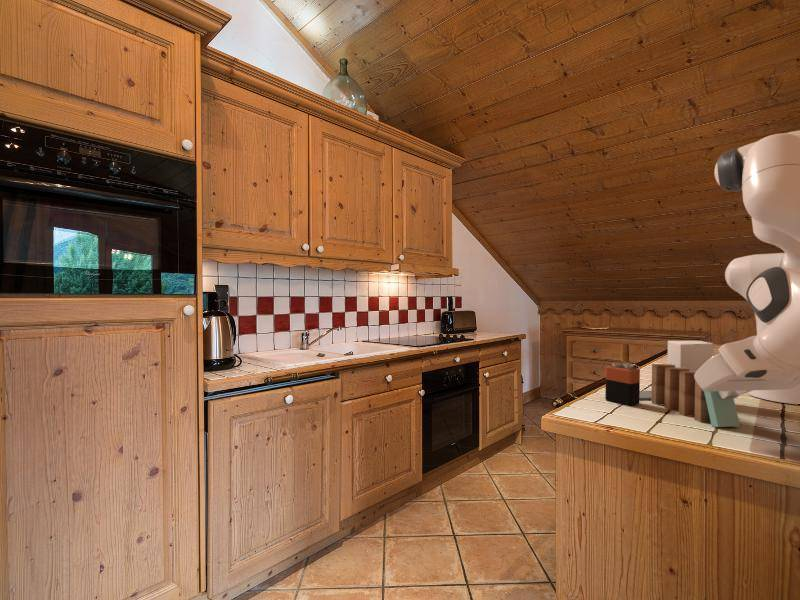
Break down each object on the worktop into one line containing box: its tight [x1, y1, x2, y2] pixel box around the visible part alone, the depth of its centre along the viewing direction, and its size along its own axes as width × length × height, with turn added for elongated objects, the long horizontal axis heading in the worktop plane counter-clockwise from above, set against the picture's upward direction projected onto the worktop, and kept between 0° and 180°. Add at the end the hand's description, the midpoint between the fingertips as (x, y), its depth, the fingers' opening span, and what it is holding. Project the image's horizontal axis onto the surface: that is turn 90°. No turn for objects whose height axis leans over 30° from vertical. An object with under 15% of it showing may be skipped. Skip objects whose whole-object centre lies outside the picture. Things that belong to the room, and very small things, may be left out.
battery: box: [604, 362, 641, 407], centre depth 104 cm, size 4×7×10 cm, turn 32°
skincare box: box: [667, 340, 715, 371], centre depth 105 cm, size 8×7×16 cm
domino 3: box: [678, 371, 696, 417], centre depth 94 cm, size 5×2×10 cm, turn 95°
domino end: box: [704, 391, 741, 428], centre depth 86 cm, size 5×2×10 cm, turn 95°
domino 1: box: [650, 363, 675, 405], centre depth 103 cm, size 5×2×10 cm, turn 95°
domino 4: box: [693, 380, 711, 423], centre depth 89 cm, size 5×2×10 cm, turn 95°
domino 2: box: [664, 367, 689, 411], centre depth 98 cm, size 5×2×10 cm, turn 95°
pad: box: [639, 390, 652, 401], centre depth 110 cm, size 9×7×1 cm
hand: (726, 395), depth 85 cm, fingers closed
